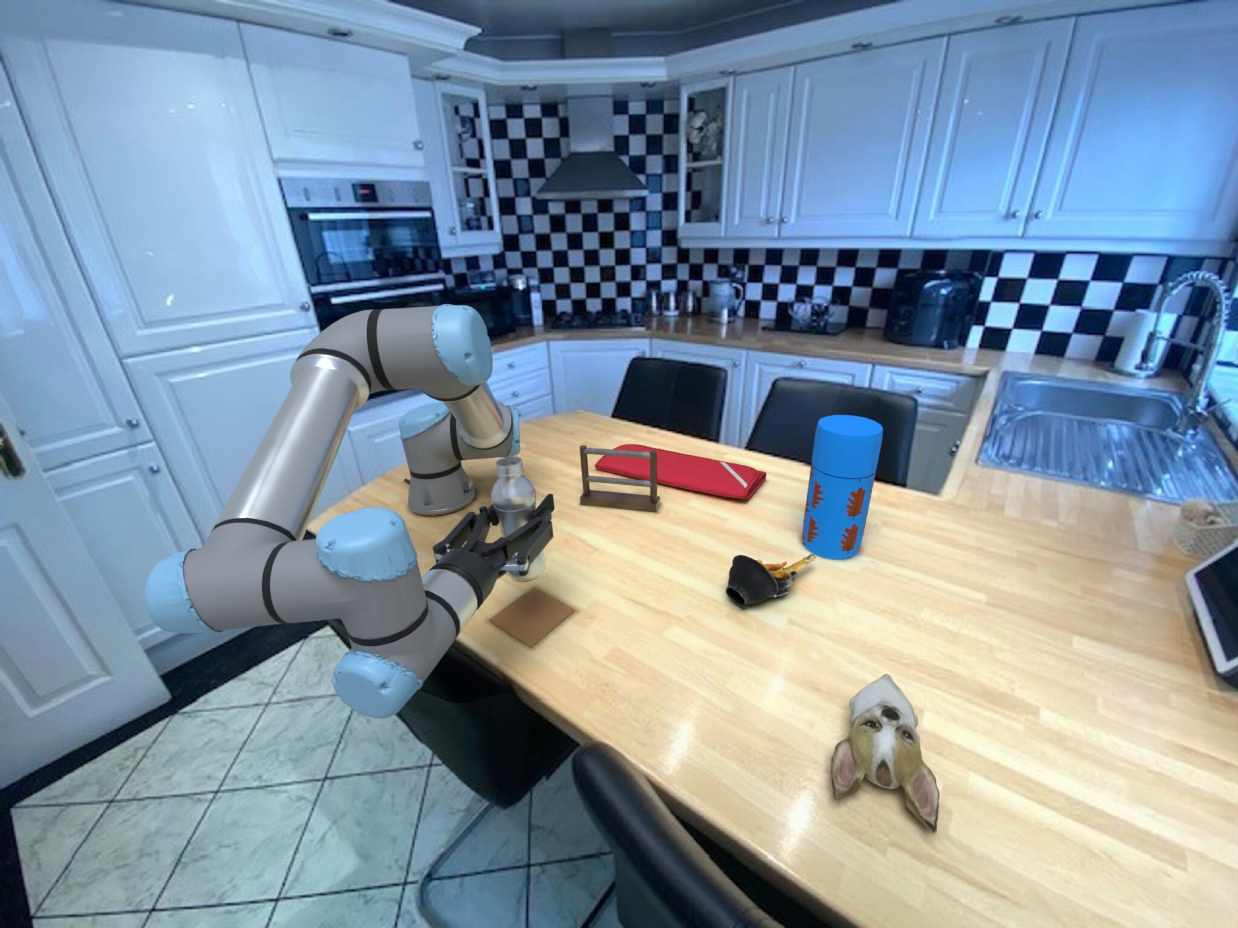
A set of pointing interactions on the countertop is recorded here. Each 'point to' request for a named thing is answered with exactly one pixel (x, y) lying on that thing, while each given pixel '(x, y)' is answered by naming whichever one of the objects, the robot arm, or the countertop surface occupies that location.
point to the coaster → (532, 616)
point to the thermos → (840, 485)
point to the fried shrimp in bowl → (760, 579)
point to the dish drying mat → (687, 472)
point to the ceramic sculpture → (885, 750)
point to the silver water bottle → (515, 507)
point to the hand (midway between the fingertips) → (531, 499)
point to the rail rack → (617, 498)
